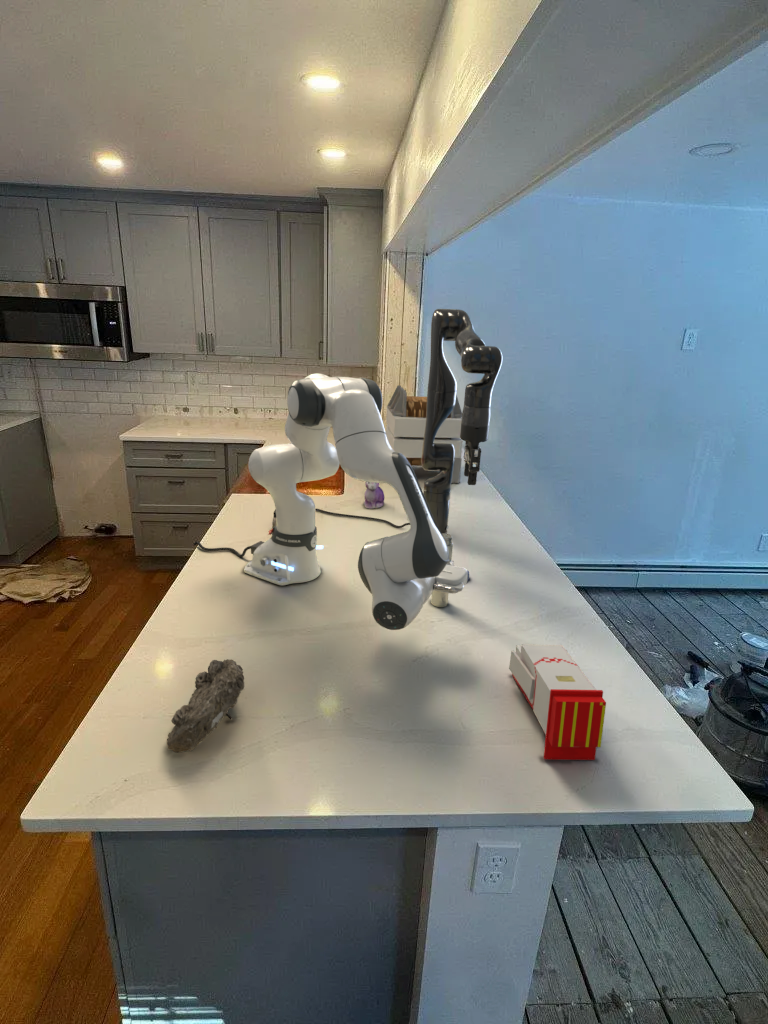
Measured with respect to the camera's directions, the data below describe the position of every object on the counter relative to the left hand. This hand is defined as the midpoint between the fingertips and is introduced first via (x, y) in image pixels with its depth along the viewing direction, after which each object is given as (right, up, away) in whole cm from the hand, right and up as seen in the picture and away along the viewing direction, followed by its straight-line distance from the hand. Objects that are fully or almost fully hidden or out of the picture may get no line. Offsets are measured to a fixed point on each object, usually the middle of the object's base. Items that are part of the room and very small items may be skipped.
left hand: (431, 559), depth 136 cm
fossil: (-44, -28, -28) cm, 59 cm away
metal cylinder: (+4, -13, +18) cm, 22 cm away
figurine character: (-47, +6, +65) cm, 81 cm away
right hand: (+12, +20, +22) cm, 33 cm away
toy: (+21, -28, -22) cm, 42 cm away
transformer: (+6, +30, +139) cm, 142 cm away
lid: (+11, -7, +32) cm, 34 cm away
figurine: (-16, +14, +91) cm, 93 cm away
